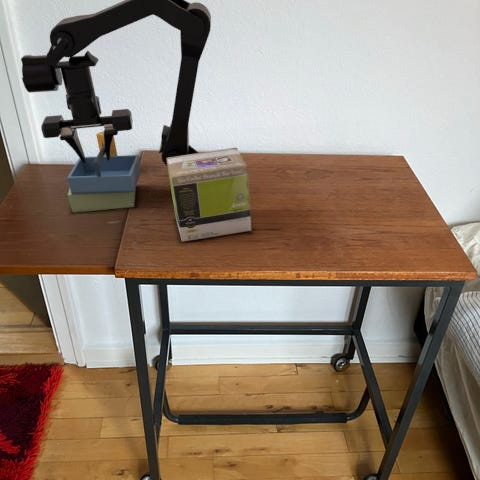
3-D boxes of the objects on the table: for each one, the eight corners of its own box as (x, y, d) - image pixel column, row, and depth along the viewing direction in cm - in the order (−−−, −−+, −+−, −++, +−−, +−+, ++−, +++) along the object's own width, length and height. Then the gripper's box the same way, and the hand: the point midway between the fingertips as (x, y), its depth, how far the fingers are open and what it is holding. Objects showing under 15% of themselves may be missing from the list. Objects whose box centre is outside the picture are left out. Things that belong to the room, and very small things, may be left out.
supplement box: (121, 170, 138) (114, 131, 132) (112, 175, 136) (104, 136, 130) (112, 167, 140) (104, 129, 133) (103, 172, 138) (94, 134, 131)
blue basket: (141, 170, 127) (136, 140, 122) (133, 192, 118) (127, 160, 113) (83, 172, 127) (76, 142, 123) (71, 194, 119) (62, 163, 114)
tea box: (241, 210, 119) (238, 145, 110) (251, 232, 112) (249, 165, 102) (174, 219, 117) (165, 155, 108) (180, 243, 110) (171, 176, 100)
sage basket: (135, 185, 131) (132, 168, 128) (134, 206, 123) (130, 188, 120) (78, 191, 130) (73, 173, 127) (72, 212, 122) (67, 194, 119)
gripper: (126, 74, 117) (138, 143, 127) (40, 81, 116) (59, 151, 126) (124, 89, 109) (138, 162, 119) (31, 98, 107) (52, 171, 118)
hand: (96, 161), depth 121 cm, fingers open, 5 cm apart
